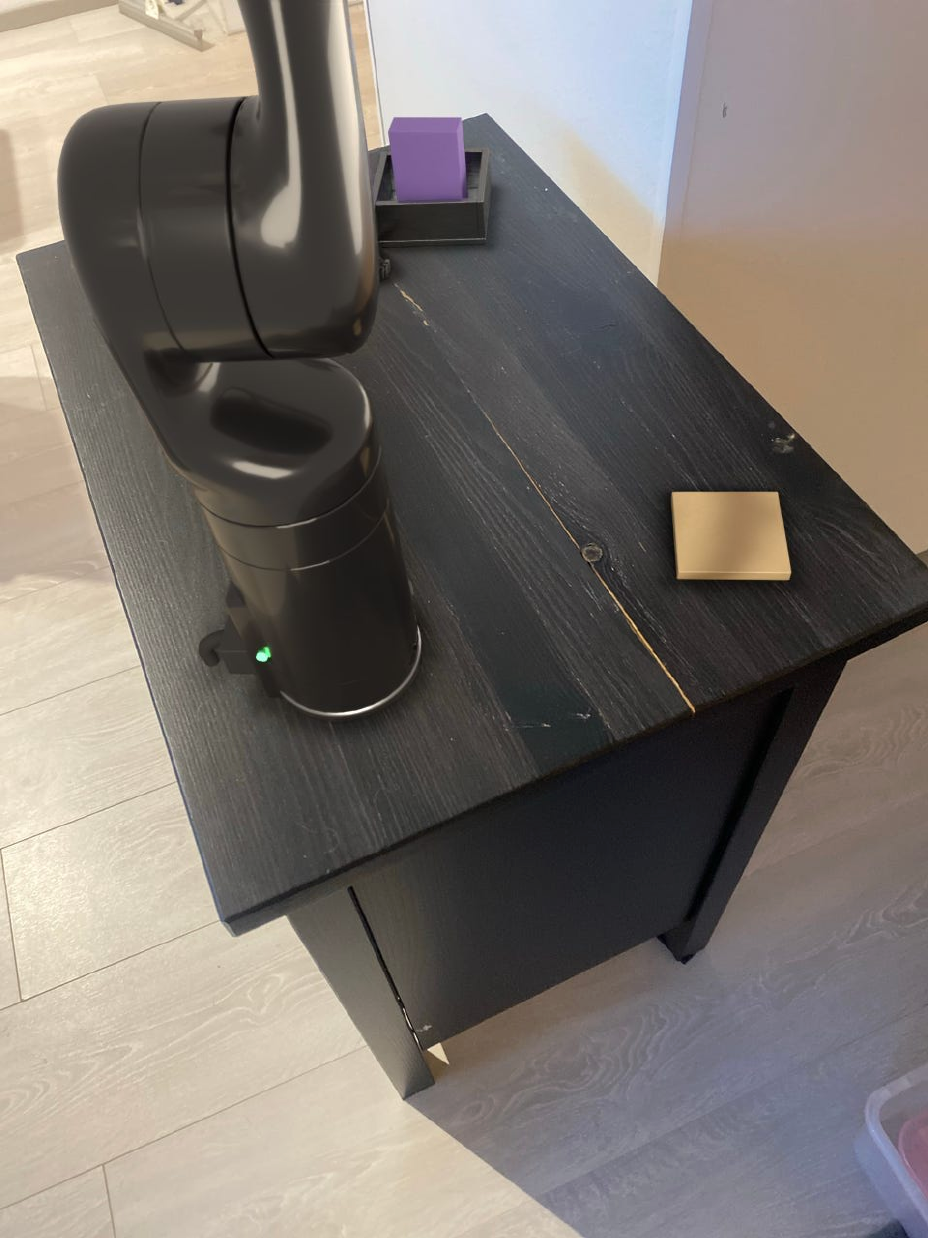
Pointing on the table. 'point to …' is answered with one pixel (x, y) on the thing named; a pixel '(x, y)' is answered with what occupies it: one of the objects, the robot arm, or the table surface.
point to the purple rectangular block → (428, 158)
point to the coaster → (729, 536)
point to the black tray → (434, 208)
